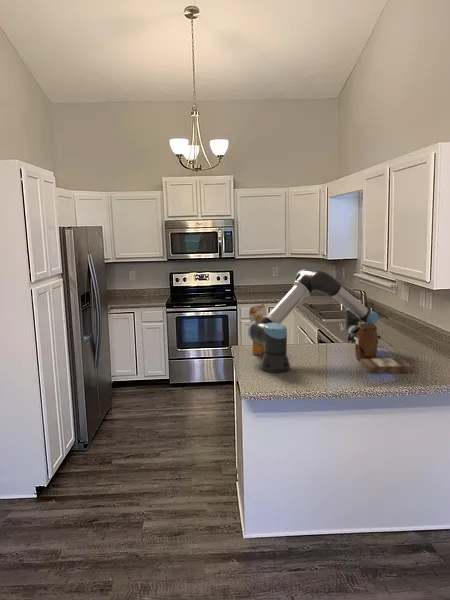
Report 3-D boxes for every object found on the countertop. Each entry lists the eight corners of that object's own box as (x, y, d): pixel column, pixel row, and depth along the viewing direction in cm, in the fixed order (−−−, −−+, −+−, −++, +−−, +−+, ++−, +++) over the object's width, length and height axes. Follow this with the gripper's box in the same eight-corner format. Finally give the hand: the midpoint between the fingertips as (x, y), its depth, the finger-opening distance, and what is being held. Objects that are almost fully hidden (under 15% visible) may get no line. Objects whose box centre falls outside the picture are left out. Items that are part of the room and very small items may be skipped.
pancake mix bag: (245, 354, 277) (245, 307, 273) (264, 347, 292) (264, 303, 287) (255, 356, 273) (254, 308, 269) (273, 349, 287) (273, 304, 283)
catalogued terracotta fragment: (372, 357, 267) (373, 322, 264) (377, 361, 259) (379, 325, 256) (353, 358, 266) (354, 323, 263) (358, 362, 258) (359, 326, 255)
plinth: (368, 373, 239) (369, 366, 238) (359, 364, 254) (360, 358, 253) (412, 372, 239) (412, 365, 239) (400, 363, 254) (400, 357, 254)
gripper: (375, 338, 280) (389, 348, 258) (336, 339, 279) (347, 349, 257) (376, 326, 278) (390, 334, 257) (337, 327, 278) (347, 335, 256)
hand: (368, 342), depth 257 cm, fingers closed on catalogued terracotta fragment, 11 cm apart
